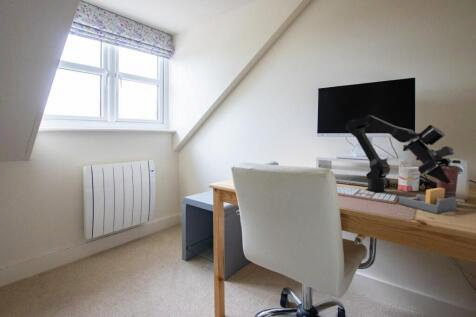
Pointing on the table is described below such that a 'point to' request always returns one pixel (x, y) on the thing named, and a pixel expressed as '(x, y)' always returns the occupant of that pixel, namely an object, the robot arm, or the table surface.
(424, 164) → the robot arm
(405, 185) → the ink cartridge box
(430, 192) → the wedge
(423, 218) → the table surface
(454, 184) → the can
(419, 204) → the grey shallow open box
